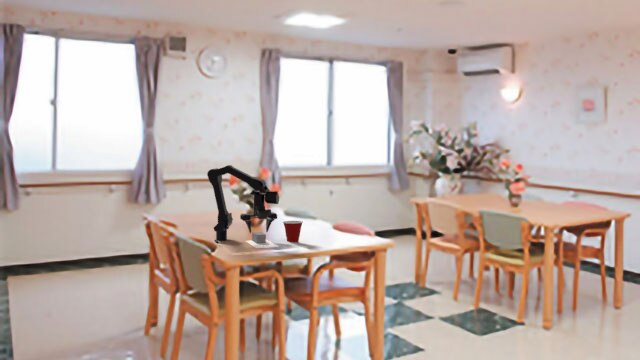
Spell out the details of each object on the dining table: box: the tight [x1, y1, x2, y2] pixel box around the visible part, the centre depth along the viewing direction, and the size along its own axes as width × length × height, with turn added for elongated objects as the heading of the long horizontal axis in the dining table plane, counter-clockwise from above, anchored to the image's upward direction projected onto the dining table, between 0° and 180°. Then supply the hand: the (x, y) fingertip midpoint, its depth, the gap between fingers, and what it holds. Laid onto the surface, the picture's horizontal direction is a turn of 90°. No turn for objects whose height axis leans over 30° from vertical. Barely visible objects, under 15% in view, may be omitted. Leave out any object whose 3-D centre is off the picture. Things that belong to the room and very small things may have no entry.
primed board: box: [245, 238, 280, 249], centre depth 306 cm, size 20×12×1 cm, turn 24°
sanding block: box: [251, 231, 267, 244], centre depth 310 cm, size 8×5×4 cm, turn 24°
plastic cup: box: [282, 220, 304, 243], centre depth 314 cm, size 11×11×12 cm
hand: (258, 232), depth 310 cm, fingers open, 9 cm apart
